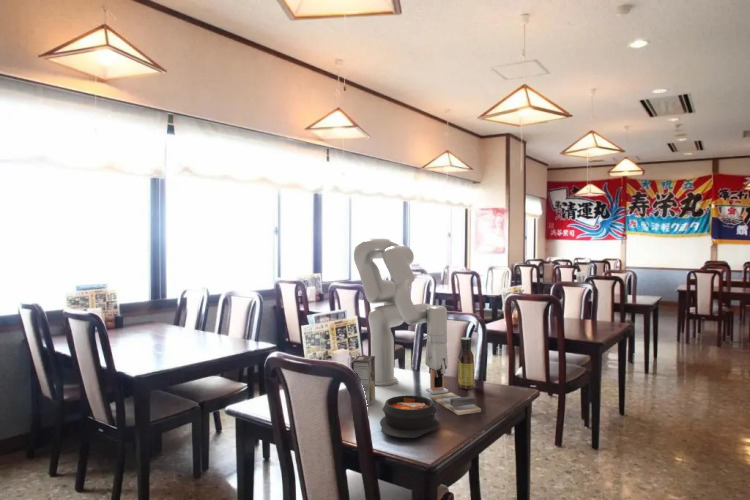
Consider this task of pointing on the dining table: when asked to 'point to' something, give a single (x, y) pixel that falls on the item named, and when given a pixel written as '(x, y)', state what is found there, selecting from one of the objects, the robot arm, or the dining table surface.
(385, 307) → the robot arm
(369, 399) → the coffee box
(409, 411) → the casserole
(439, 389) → the tan and white stand
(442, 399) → the ticket board
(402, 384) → the dining table surface
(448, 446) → the dining table surface
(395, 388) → the dining table surface
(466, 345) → the sauce bottle
